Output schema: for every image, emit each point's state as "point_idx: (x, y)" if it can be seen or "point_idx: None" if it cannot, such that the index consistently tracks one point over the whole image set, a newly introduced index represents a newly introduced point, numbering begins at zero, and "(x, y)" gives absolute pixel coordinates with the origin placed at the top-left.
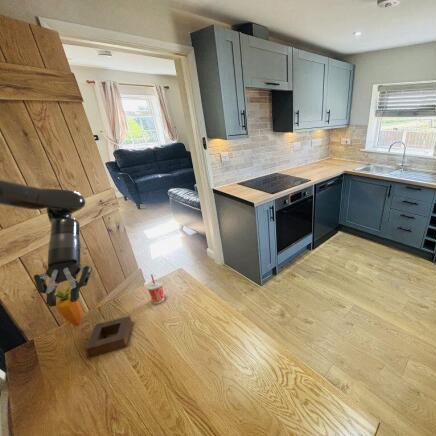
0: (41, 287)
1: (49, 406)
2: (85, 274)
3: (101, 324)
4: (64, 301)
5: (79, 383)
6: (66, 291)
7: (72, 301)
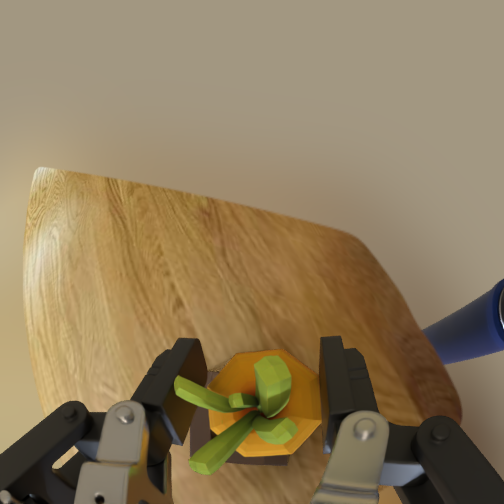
0: (447, 465)
1: (327, 265)
2: (8, 450)
3: (268, 458)
4: (254, 376)
5: (288, 300)
6: (225, 436)
7: (189, 339)
